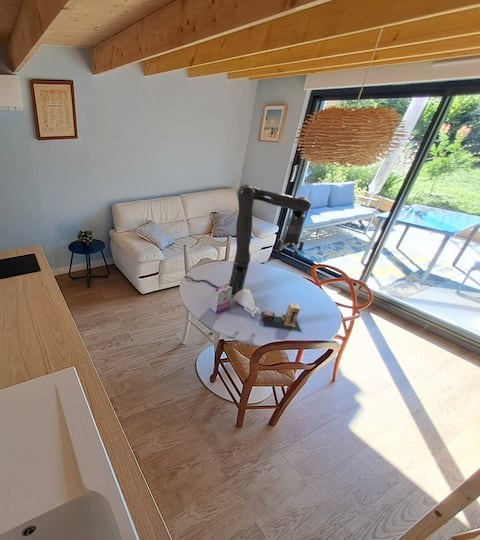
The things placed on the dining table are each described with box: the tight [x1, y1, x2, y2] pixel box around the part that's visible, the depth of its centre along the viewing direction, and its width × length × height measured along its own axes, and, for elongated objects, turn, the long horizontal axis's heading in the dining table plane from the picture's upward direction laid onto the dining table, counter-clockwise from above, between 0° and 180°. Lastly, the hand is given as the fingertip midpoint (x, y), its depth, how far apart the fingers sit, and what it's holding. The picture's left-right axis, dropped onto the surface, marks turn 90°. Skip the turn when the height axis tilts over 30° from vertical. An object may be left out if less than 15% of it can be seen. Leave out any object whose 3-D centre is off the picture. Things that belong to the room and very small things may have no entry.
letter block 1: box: [261, 310, 273, 322], centre depth 174 cm, size 4×4×5 cm
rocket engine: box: [233, 288, 262, 318], centre depth 183 cm, size 12×12×18 cm
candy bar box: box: [210, 284, 233, 314], centre depth 181 cm, size 11×5×16 cm, turn 117°
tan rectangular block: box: [284, 303, 301, 325], centre depth 170 cm, size 5×5×12 cm
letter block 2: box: [272, 311, 283, 323], centre depth 173 cm, size 4×4×5 cm
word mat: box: [260, 311, 302, 332], centre depth 173 cm, size 20×14×1 cm
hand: (286, 255), depth 178 cm, fingers open, 8 cm apart
